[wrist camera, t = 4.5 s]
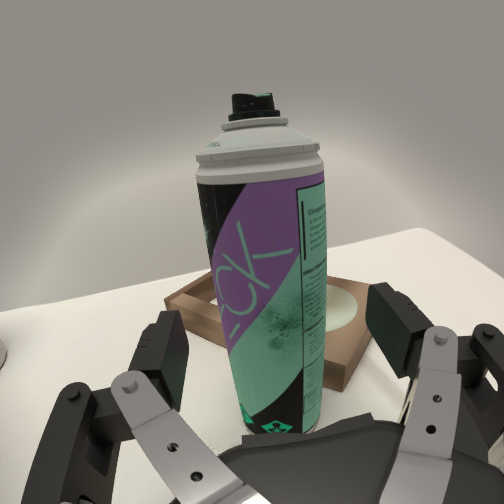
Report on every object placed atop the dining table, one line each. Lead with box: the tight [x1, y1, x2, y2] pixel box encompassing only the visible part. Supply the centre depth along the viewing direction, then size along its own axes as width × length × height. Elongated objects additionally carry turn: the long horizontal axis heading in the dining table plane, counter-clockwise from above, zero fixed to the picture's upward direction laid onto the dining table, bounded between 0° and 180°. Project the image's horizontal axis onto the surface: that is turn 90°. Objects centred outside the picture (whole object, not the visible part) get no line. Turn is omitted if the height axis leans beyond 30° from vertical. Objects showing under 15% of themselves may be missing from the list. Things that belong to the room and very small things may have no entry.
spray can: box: [196, 93, 327, 435], centre depth 15 cm, size 6×6×20 cm
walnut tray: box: [164, 271, 372, 392], centre depth 29 cm, size 20×12×3 cm, turn 54°
